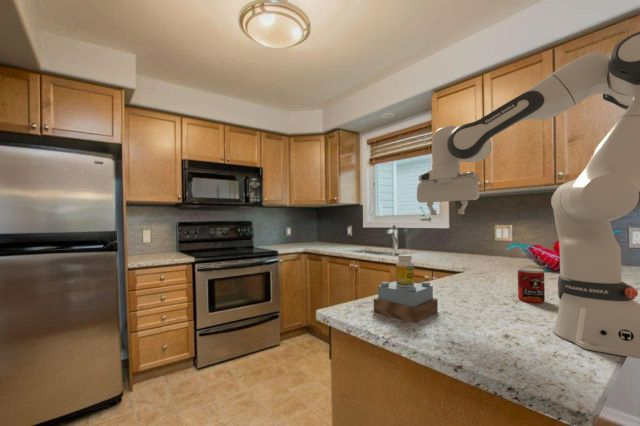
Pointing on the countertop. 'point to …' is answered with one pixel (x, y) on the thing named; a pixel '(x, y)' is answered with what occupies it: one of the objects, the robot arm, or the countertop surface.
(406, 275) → the supplement bottle
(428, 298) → the top brick
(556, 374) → the countertop surface
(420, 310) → the base brick
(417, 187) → the robot arm
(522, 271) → the canned food
